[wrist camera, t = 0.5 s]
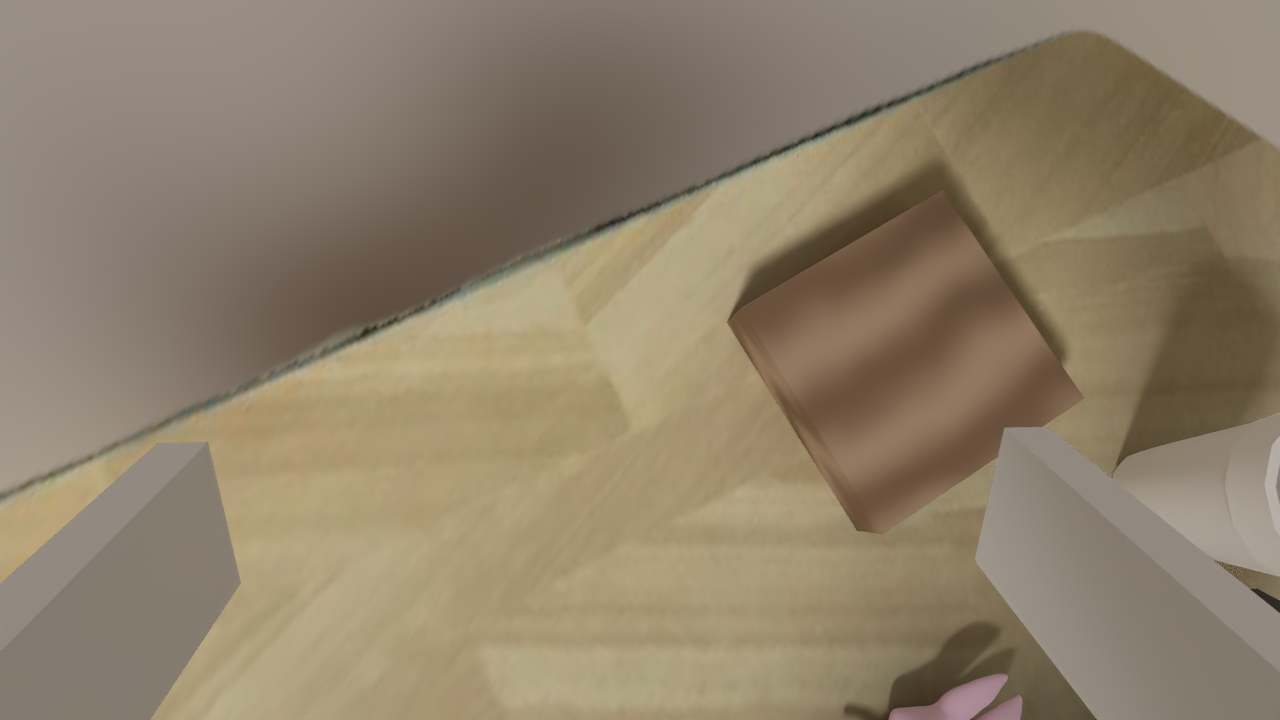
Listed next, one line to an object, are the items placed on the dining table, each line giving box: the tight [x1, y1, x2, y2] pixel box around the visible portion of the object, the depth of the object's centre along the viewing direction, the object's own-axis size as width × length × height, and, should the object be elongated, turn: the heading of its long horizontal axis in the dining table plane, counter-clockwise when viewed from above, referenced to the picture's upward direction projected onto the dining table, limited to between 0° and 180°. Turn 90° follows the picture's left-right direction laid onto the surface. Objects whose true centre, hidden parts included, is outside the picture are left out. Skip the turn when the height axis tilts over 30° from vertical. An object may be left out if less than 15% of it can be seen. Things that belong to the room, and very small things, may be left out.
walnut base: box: [727, 190, 1084, 534], centre depth 48 cm, size 16×16×4 cm
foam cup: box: [1112, 412, 1280, 577], centre depth 44 cm, size 10×9×13 cm
